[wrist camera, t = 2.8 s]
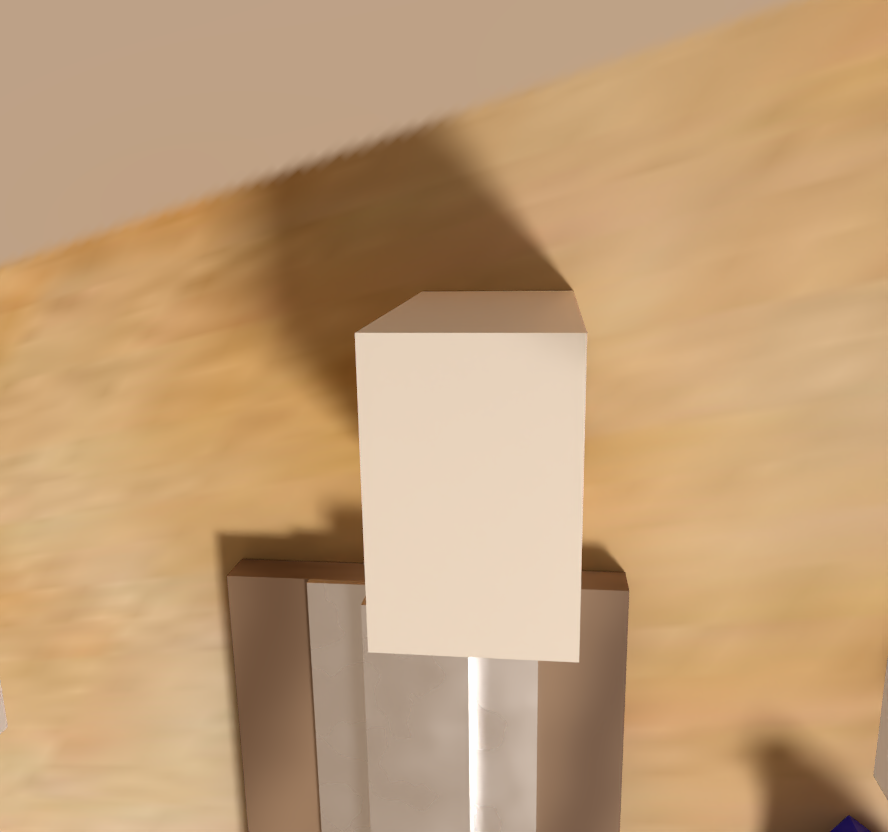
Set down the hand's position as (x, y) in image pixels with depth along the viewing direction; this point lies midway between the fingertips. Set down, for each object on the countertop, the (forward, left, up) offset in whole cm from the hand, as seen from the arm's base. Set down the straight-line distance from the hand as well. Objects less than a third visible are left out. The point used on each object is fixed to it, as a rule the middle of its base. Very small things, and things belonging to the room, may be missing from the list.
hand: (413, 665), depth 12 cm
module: (0, 0, -17) cm, 17 cm away
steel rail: (+2, +15, -15) cm, 22 cm away
